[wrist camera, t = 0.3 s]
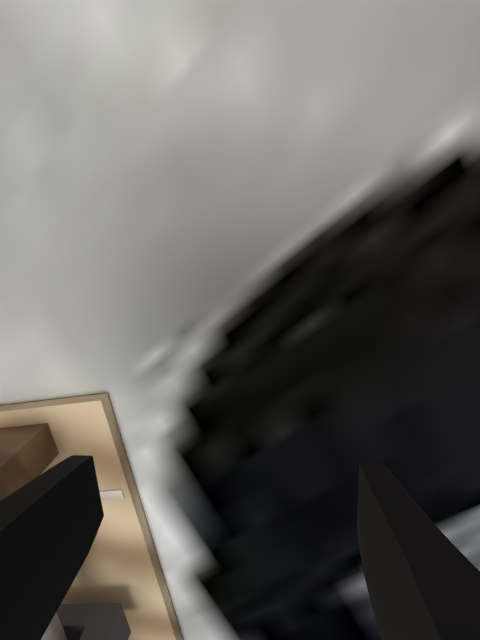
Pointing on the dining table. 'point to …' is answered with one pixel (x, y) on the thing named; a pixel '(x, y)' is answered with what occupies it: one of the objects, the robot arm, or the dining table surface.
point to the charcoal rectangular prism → (94, 621)
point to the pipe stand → (117, 501)
